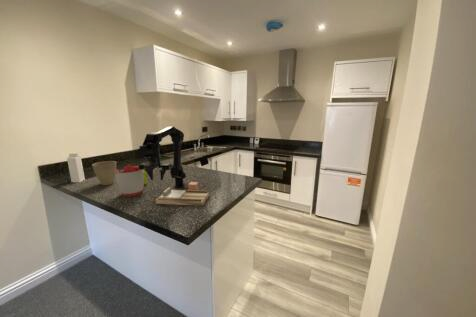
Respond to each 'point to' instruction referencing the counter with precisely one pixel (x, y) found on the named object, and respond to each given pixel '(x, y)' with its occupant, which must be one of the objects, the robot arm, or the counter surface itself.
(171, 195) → the slide cover
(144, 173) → the puzzle toy
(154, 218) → the counter surface
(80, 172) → the milk
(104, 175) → the plant pot
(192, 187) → the block
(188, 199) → the puzzle board
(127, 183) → the citrus juicer
